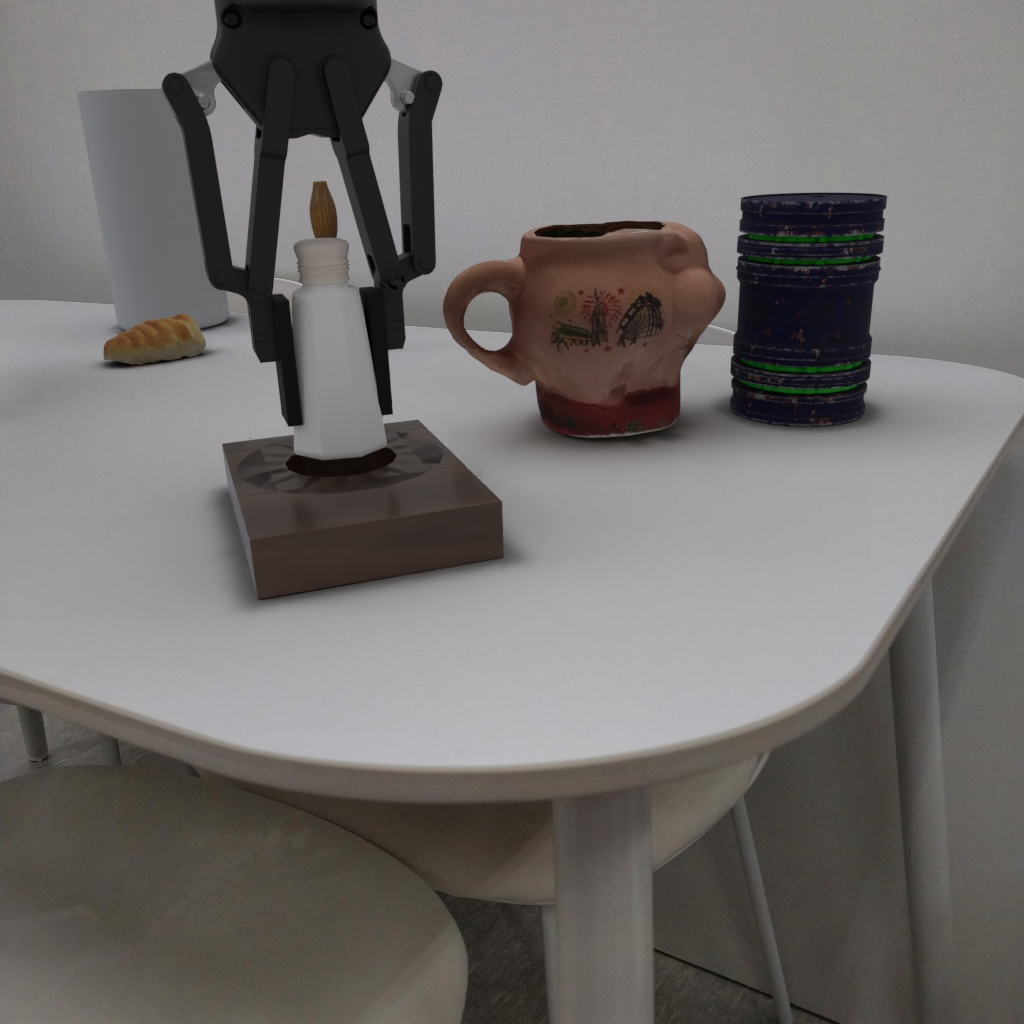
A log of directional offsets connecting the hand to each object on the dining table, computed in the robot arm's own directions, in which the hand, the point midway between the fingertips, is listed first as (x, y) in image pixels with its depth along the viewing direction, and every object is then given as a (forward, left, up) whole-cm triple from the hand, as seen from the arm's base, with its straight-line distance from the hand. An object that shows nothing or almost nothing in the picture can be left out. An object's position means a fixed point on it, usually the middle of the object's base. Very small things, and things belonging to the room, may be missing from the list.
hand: (336, 413), depth 53 cm
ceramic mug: (-9, +19, -6) cm, 22 cm away
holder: (+2, 0, -6) cm, 6 cm away
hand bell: (-46, +8, -6) cm, 47 cm away
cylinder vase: (-69, -7, -6) cm, 70 cm away
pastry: (-50, -9, -6) cm, 51 cm away
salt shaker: (0, 0, -2) cm, 2 cm away
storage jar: (-7, +35, -6) cm, 36 cm away
